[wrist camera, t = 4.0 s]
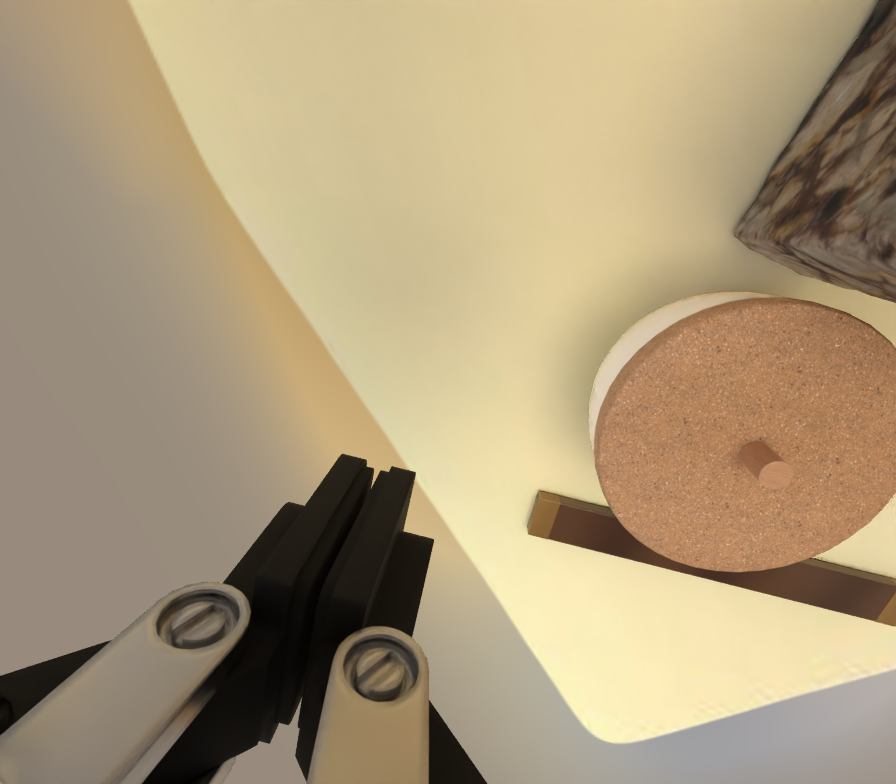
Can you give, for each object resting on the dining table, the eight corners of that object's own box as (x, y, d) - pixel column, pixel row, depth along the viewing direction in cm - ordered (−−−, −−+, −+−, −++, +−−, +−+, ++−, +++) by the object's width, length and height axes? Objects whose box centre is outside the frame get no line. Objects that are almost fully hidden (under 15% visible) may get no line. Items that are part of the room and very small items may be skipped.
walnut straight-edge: (526, 526, 29) (527, 534, 28) (539, 489, 28) (539, 497, 27) (885, 616, 28) (896, 627, 27) (909, 582, 27) (921, 593, 26)
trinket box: (740, 495, 26) (857, 636, 18) (546, 448, 27) (566, 564, 18) (839, 301, 23) (1050, 359, 14) (610, 249, 23) (675, 273, 14)
